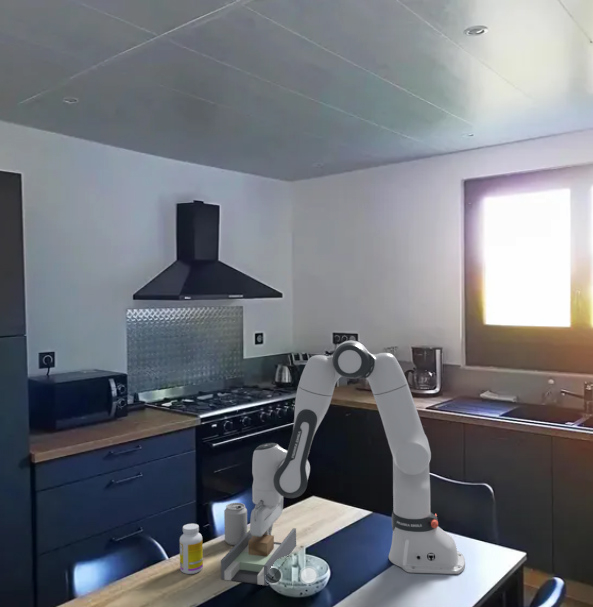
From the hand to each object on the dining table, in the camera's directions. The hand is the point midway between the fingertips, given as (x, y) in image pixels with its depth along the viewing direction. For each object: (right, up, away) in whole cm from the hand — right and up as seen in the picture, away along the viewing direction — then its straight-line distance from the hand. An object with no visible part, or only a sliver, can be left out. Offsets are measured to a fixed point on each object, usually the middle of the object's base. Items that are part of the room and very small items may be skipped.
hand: (267, 539), depth 185 cm
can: (-11, -5, +9) cm, 15 cm away
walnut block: (-2, -2, -5) cm, 5 cm away
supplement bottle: (-22, -5, -11) cm, 25 cm away
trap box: (-2, -4, -6) cm, 7 cm away
